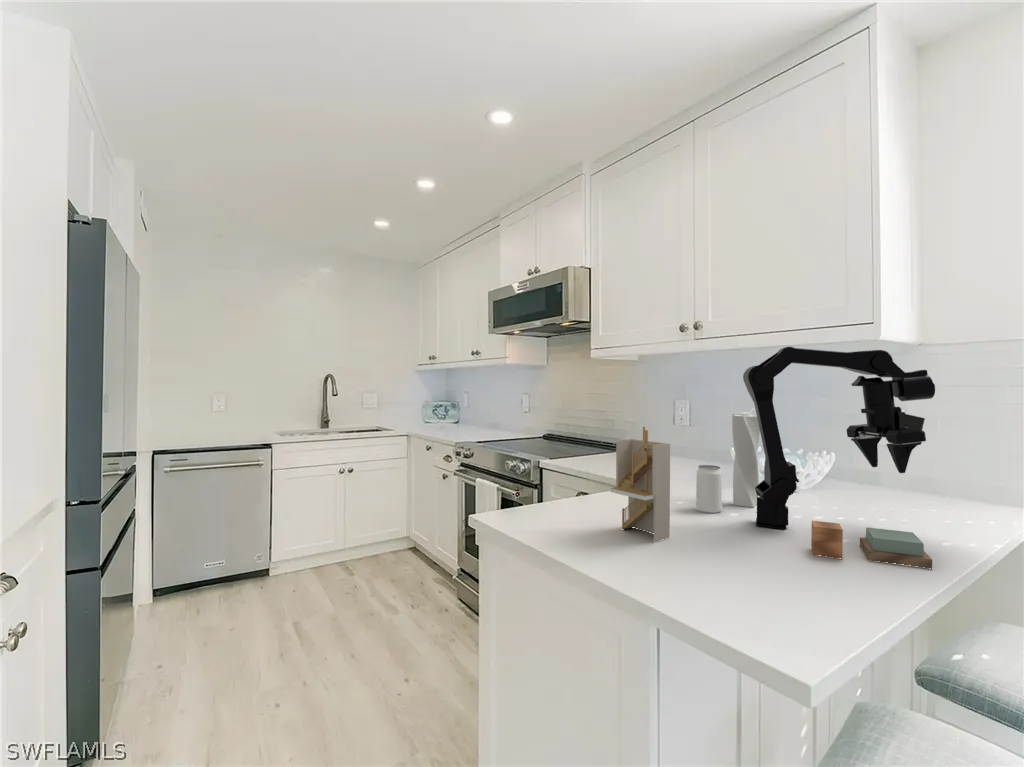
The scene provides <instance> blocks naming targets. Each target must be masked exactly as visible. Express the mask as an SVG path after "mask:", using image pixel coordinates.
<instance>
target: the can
mask: <svg viewBox="0 0 1024 767" xmlns="http://www.w3.org/2000/svg"><path fill="white" fill-rule="evenodd" d="M722 474H723V473H722V471H721V466H718V465H713V464H711V465H710V464H699V465H698V468H697V470H696V485H695V486H696V488H695V489H696V491H695V492H696V494H695V495H696V497H695V498H696V502H695V504H696V505H695V506H696V510H697V511H699V512H700V511H701V513H704V512H705V514H719V513H721V512H722V510H723V509H722V505H723V502H722V501H723V480H722V479H723V475H722Z"/></svg>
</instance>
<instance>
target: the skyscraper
mask: <svg viewBox="0 0 1024 767" xmlns="http://www.w3.org/2000/svg"><path fill="white" fill-rule="evenodd" d="M754 410H756V409H755V407H752V409H750V411H746V412H744V411H743V412H742V411H741V412H733V413H732V414H731V420H732V421H731V424H732V425H731V426H732V427H731V428H732V430H731V432H732V442H733V451H734V461H733V472H732V474H733V475H732V476H733V477H732V502H733V504H732V505H734V506H739V507H747V508H753V509H754V508H755V507H757V497H759V496H758V495H757V493H756V491H755V487H756V486H757V485H758V484H760V483H759V481H760V479H759V472H760V471H759V464H758V456H757V455H758V454H757V451H758V448H759V442H760V436H761V433H760V429H759V424H758V419H757V415H752V414H753V413H752V412H753V411H754Z"/></svg>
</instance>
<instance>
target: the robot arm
mask: <svg viewBox="0 0 1024 767" xmlns="http://www.w3.org/2000/svg"><path fill="white" fill-rule="evenodd" d="M791 364H797V365H808V366H819V367H828V368H829V367H830V368H840V369H843V370H847V371H850V372H854V373H857V374H861V375H858V376H857V378H856V379H855V380H854V381H853V382H852V383H851V386H852V387H862V394H863V395H862V396H863V402H864V404H863V405H864V408H860V412H861V413H862V414H865V418H866V423H860V424H853V425H849V426H848V427H847V429H846V435H847V437H848V438H850V441H852V442H853V443H854V444H855V445H856V446H857V448H858V450H859V451H860V452H861V453H862V454H863V456H864V457H865V459H866V460H867V462H868V463H869V464H870V466H871V467H872V468H877V467H878V465H879V456H878V455H879V454H878V453H879V452H878V450H879V449H878V444H879V443H880V441H881V440H882V439H883V438H885V440H886V441H887V442H888V443H885V444H886V447H887V449H888V452H889V454H890V456H891V458H892V461H893V463H894V465H895V466H894V467H895V468H896V469H897V472H898V474H905V473H906V470H907V468H908V465H909V461H910V457H911V454H912V452H913V450H914V449H915V448H916V447H918V446H920V445H922V442H923V443H924V442H926V441H927V436H926V435H927V434H926V432H925V431H924V430H923V429H924V424H925V420H926V418H924V417H921V416H916V415H911V414H907V413H906V412H905V411H902V408H901V406H896V405H895V398H897V399H898V400H899V401H900V402H909V401H921V400H930V399H933V398H934V396H935V393H936V386H935V383H934V382H933V380H932V378H931V376H930V375H929V373H928V370H927V369H917V370H913V371H908V372H906V371H904V370H903V369H902V368H901V367H900V366H898V364H896V363H895V361H894V360H893V357H892V355H891V354H890V353H889V351H887V350H883V349H871V350H859V351H858V350H857V351H847V352H845V351H835V350H824V349H811V348H810V349H808V348H800V347H799V348H798V347H794V346H786V347H782V348H780V349H779V350H778V351H777V352H776V353H774V354H773V355H772V356H770V357H768V358H767V359H765V360H763V361H762V362H761V363H760V364H758V365H752V366H750V367H748V368H746V370H745V371H744V372H743V374H742V379H743V382H744V385H745V388H746V389H747V392H748V394H749V396H750V398H751V399H752V401H753V405H754V408H755V409H754V410H755V413H756V416H757V419H758V424H759V429H760V436H761V442H762V447H763V452H764V455H765V458H764V468H763V475H764V476H763V478H764V479H763V480H762V481H761V482H760V483H759V484H758V485H757V486H756V487H755V491H756V493H757V495H758V497H757V505H756V518H755V526H756V527H763V528H771V529H780V530H786V529H787V527H788V525H789V506H787V505H786V504H787V502H788V500H789V498H790V496H791V495H793V494H794V493H795V492H796V490H797V487H798V485H797V483H799V482H800V480H799V479H798V477H797V476H798V475H797V468H796V464H793V463H792V462H790V461H787V460H786V458H785V455H784V449H783V446H782V440H781V436H780V430H779V425H778V421H777V417H776V416H777V415H776V411H775V406H774V402H773V401H774V400H773V399H774V393H775V392H774V391H775V377H776V376H778V375H780V374H781V373H782V372H783V371H784V370H785V369H786V368H787V367H788V366H790V365H791ZM864 375H865V376H864ZM866 376H877V377H866ZM883 378H891V380H890V379H889V380H883Z"/></svg>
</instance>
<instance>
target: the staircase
mask: <svg viewBox="0 0 1024 767" xmlns="http://www.w3.org/2000/svg"><path fill="white" fill-rule="evenodd" d="M648 437H649V430H647V429H646V426H642V440H641V439H635V438H633V439H632V438H627V439H618V440H617V439H616V441H615V442H616V444H615V446H616V449H615V453H616V454H615V456H616V457H615V458H616V459H615V460H616V461H615V462H616V463H615V464H616V466H615V486H614V487H610V493H614V494H618V495H622V496H627V497H628V499H627V500H628V502H627V504H628V505H627V506H626V507H625V508H623V507H622V509H621V516H622V517H621V518H622V519H621V526H622V527H621V528H622V529H624V530H625V528H626V529H629V528H628V527H635V528H638V529H641V530H645V531H648V532H651V533H654V534H652V535H653V540H652V541H655V542H656V541H659V540H662V539H666V538H669V537H670V535H671V534H670V532H671V531H670V530H671V529H670V528H671V527H670V524H671V523H670V522H671V520H670V517H671V443H669V442H668V443H666V442H660V441H650V440H649V438H648ZM669 539H670V538H669ZM666 540H667V539H666ZM662 541H663V540H662ZM655 542H654V543H655ZM659 542H660V541H659ZM656 543H657V542H656Z"/></svg>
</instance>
